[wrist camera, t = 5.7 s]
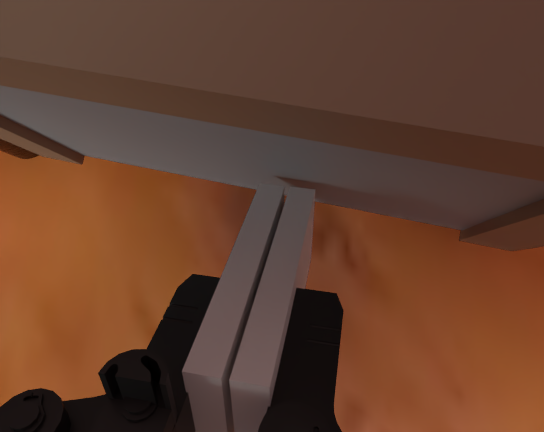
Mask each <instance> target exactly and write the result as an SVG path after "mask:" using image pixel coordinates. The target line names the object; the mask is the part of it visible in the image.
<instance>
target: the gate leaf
mask: <svg viewBox="0 0 544 432" xmlns="http://www.w3.org/2000/svg"><path fill="white" fill-rule="evenodd" d="M0 139H2V140H5V141H7V142H9V143H12V144H14V145H17V146H19V147H21V148H24V149H26V150H29V151H31V152H33V153H36V154H38V155H40V156H43V157H47V158H52V159H57V160H62V161H67V162H72V163H77V164H83V160H84V156H89V157H94V158H99V159H104V160H109V161H114V162H119V163H125V164H130V165H135V166H140V167H145V168H150V169H155V170H160V171H165V172H170V173H175V174H180V175H185V176H190V177H195V178H200V179H205V180H210V181H215V182H220V183H225V184H230V185H236V186H241V187H246V188H251V189H256V190H257V188H258V186H259V184H260V183H261V184H270V185H279V186H285V194H284V195H286V196H287V194H288V191H289V188H290V187H298V188H307V189H316V190H315V201H316V202H321V203H326V204H331V205H336V206H341V207H347V208H352V209H357V210H362V211H367V212H372V213H377V214H382V215H387V216H392V217H397V218H402V219H407V220H412V221H417V222H422V223H427V224H432V225H437V226H442V227H447V228H452V229H458V230H461V232H460V237H459V241H463V242H468V243H473V244H478V245H483V246H488V247H493V248H498V249H503V250H508V251H517V250H523V249H530V248H536V247H542V246H544V0H0Z"/></svg>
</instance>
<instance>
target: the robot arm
mask: <svg viewBox="0 0 544 432" xmlns="http://www.w3.org/2000/svg"><path fill="white" fill-rule="evenodd" d="M315 190H316V189H307V188H298V187H290V188H289V191H288V194H287V198H286V201H285V204H284V194H285V186H279V185H270V184H261V183H260V184H259V186H258V188H257V191H256V193H255V196H254V198H253V200H252V203H251V205H250V208H249V210H248V213H247V215H246V217H245V220H244V222H243V225H242V227H241V229H240V232H239V234H238V237H237V239H236V242H235V244H234V246H233V249H232V251H231V254H230V256H229V259H228V261H227V263H226V266H225V268H224V271H223V273H222V275H221V278H217V277H210V276H203V275H196V274H192V275H191V276H190V277H189V278H188V279H187V280H185V281H184V282H183V283H182V284H181V285H180V286H179V287H178V288H177V290H176V292H175V294H174V296H173V298H172V300H171V302H170V306H169V307H168V308H167V310H166V312H165V314H164V316H163V320H161V322H160V324H159V326H158V328H157V330H156V332H155V334H154V336H153V338H152V340H151V341H150V343H149V345H148V347H147V349H135V350H130V351H127V352H124V353H120V354H118V355H117V356H115V357H114V358H112V359H111V360H109V361H108V362H107V363H106V364H105V365H104V367H103V368H102V369H101V370H100V371H99V373H98V374H99V376H100V379H101V381H102V384H103V387H104V389H105V392H106V394H105V395H101V396H97V397H92V398H84V399H76V400H69V401H62V400H61V398H60V397H59V396H58V395H57V394H56V393H55V392H54V391H51V390H47V389H42V388H40V389H33V390H27V391H25V392H23V393H20V394H18V395H16V396H14V397H13V398H11V399H10V400H9V401H7V402H6V403H5V404H4V405H2V406H1V407H0V432H342V431H341V429H340V427H339V426H338V424H337V421H336V418H335V415H334V396H335V386H336V377H337V367H338V358H339V347H340V338H341V329H342V319H343V308H342V306H341V303H340V301H339V298H338V296H337V293H330V292H323V291H316V290H309V289H305V287H306V282H307V277H308V272H309V267H310V262H311V252H312V237H313V221H314V206H315Z"/></svg>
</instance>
